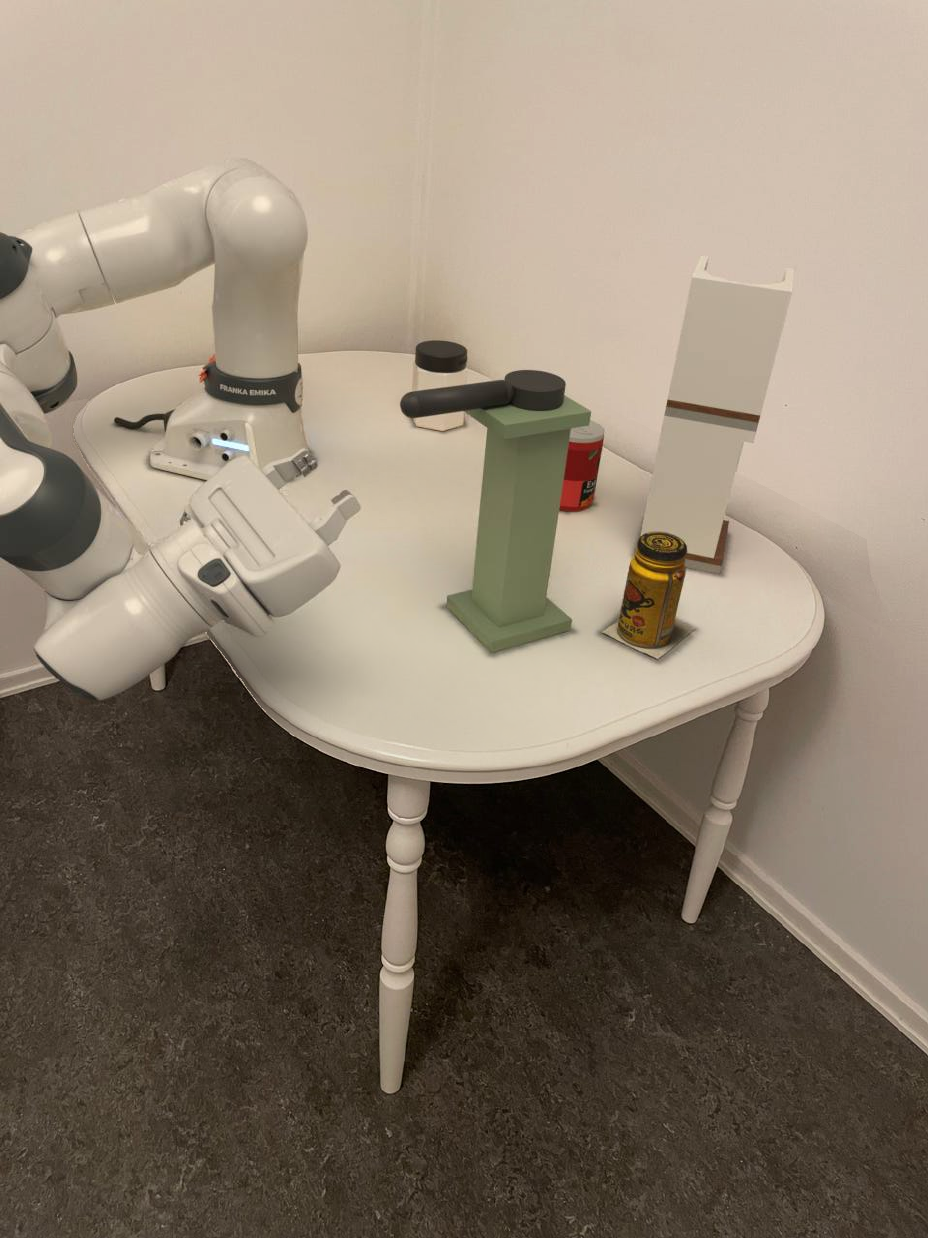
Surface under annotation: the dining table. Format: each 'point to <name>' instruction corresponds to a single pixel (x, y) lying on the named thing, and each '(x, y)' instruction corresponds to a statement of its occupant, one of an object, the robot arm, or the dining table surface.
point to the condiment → (653, 596)
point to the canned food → (582, 467)
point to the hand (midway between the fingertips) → (332, 476)
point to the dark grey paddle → (489, 395)
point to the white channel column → (713, 407)
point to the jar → (439, 377)
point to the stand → (518, 525)
